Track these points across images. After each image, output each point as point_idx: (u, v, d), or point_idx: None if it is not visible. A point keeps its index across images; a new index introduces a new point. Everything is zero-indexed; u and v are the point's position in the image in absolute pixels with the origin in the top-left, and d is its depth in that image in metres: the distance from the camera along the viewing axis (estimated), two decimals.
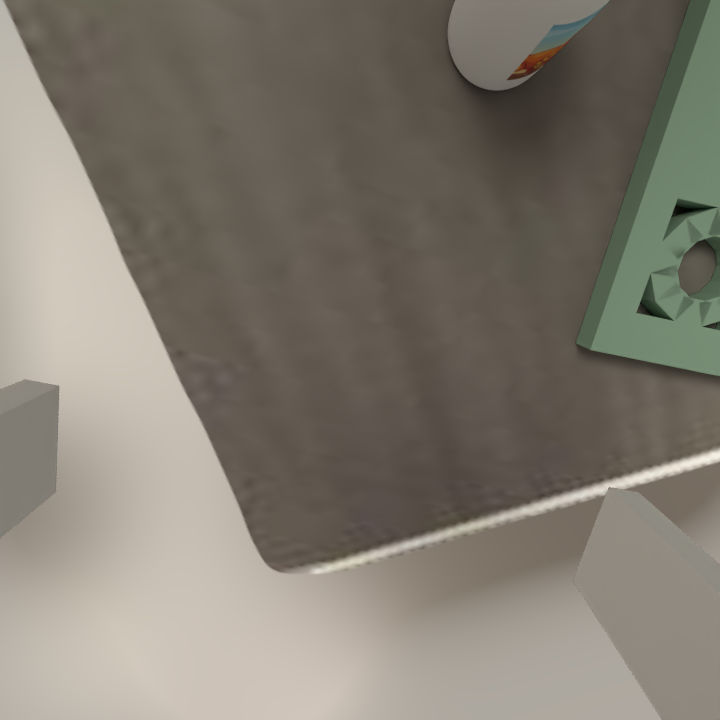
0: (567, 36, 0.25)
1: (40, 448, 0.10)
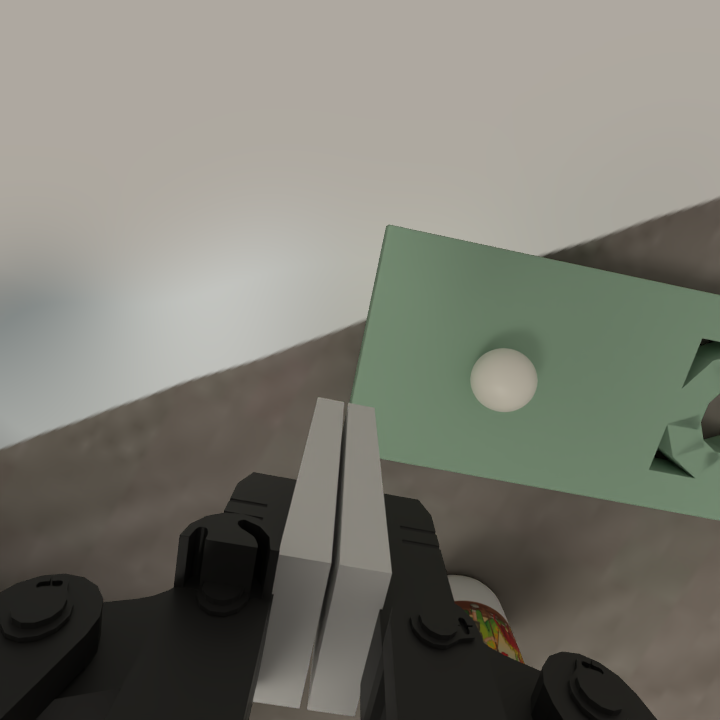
0: None
1: None
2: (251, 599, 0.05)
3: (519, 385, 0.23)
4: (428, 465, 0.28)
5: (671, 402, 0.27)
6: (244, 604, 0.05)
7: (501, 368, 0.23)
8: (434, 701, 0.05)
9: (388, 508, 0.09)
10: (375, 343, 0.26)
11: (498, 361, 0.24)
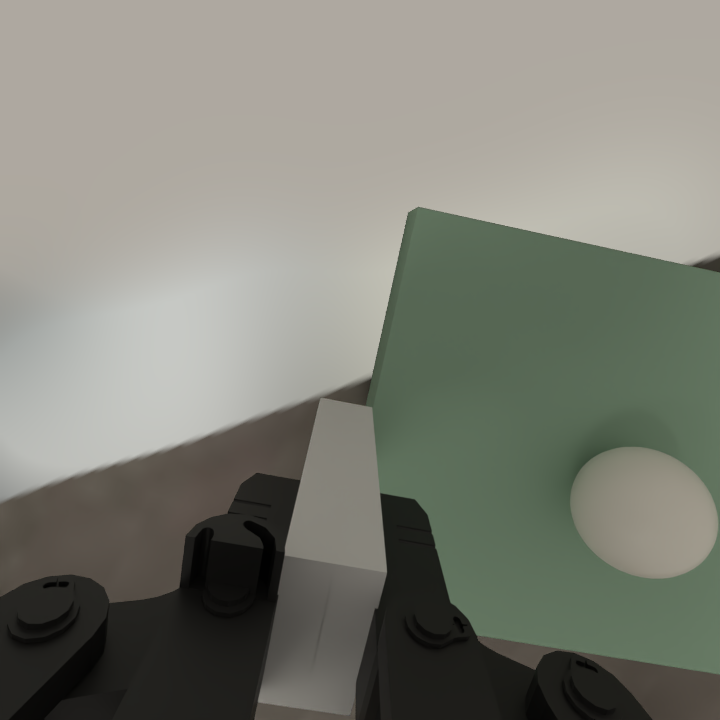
0: None
1: None
2: (256, 600, 0.05)
3: (694, 541, 0.11)
4: (480, 633, 0.16)
5: None
6: (249, 605, 0.05)
7: (653, 503, 0.11)
8: (428, 700, 0.05)
9: (385, 507, 0.09)
10: (388, 429, 0.14)
11: (644, 485, 0.12)
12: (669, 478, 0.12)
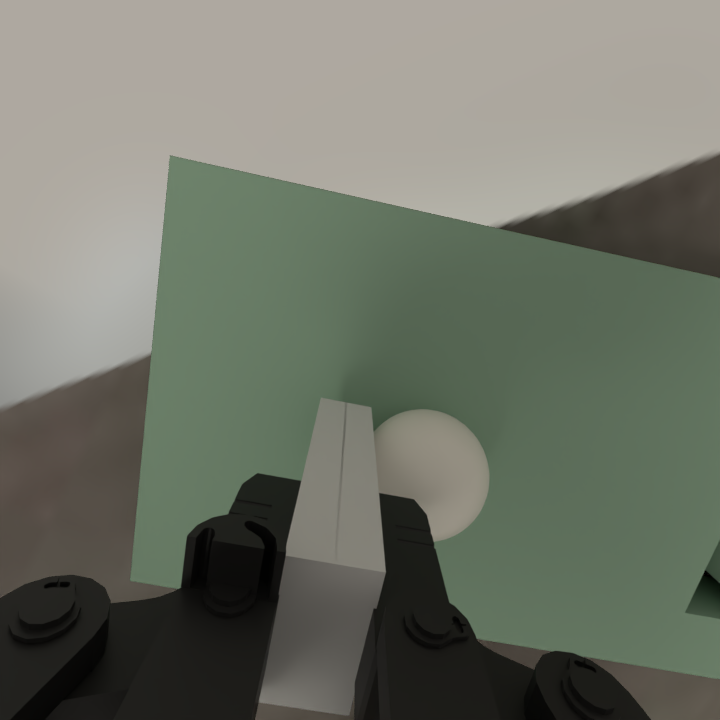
0: None
1: None
2: (257, 600, 0.05)
3: (462, 499, 0.11)
4: None
5: None
6: (250, 605, 0.05)
7: (424, 466, 0.11)
8: (427, 700, 0.05)
9: (384, 507, 0.09)
10: (169, 390, 0.14)
11: (416, 449, 0.11)
12: (441, 438, 0.11)
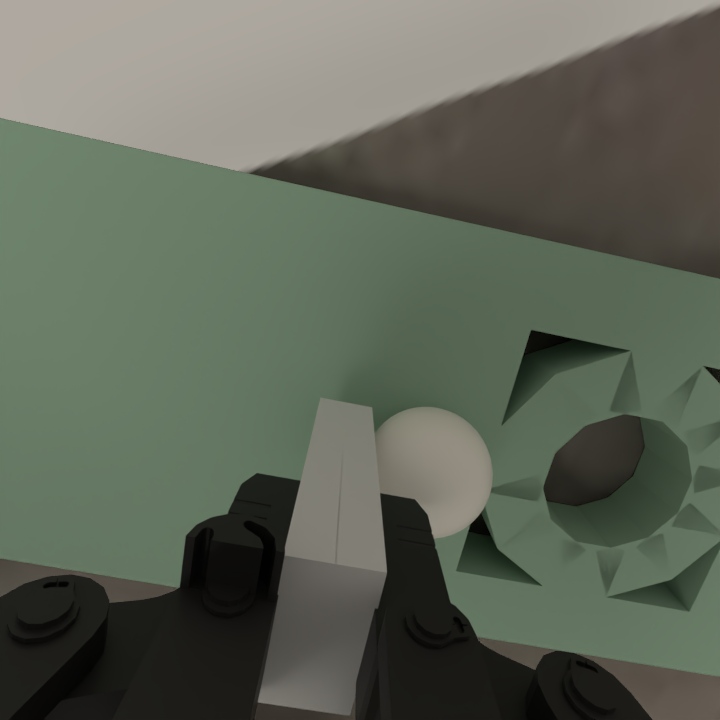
0: None
1: None
2: (257, 600, 0.05)
3: None
4: (47, 563, 0.15)
5: None
6: (250, 605, 0.05)
7: None
8: (428, 700, 0.05)
9: (385, 507, 0.09)
10: None
11: None
12: (406, 411, 0.12)
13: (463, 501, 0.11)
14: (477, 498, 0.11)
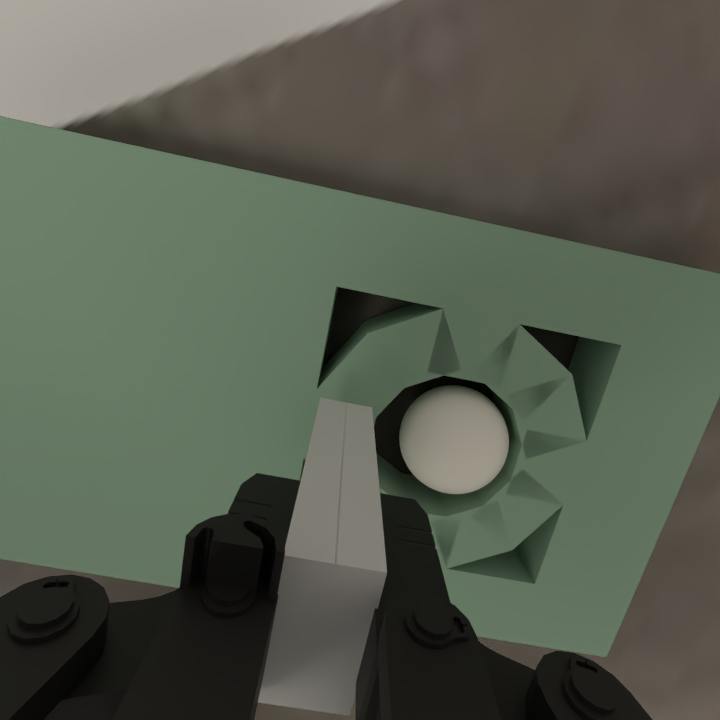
0: None
1: None
2: (256, 600, 0.05)
3: None
4: None
5: (302, 415, 0.14)
6: (249, 605, 0.05)
7: None
8: (428, 700, 0.05)
9: (385, 507, 0.09)
10: None
11: None
12: None
13: (410, 433, 0.14)
14: (420, 440, 0.14)
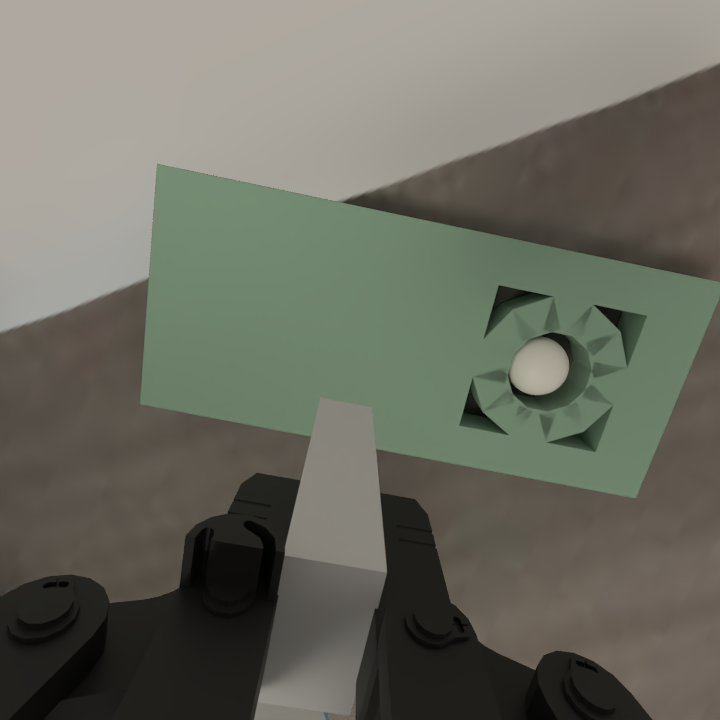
0: None
1: None
2: (257, 600, 0.05)
3: None
4: (230, 419, 0.28)
5: (474, 354, 0.26)
6: (250, 605, 0.05)
7: None
8: (428, 700, 0.05)
9: (385, 507, 0.09)
10: (159, 290, 0.26)
11: None
12: None
13: None
14: None
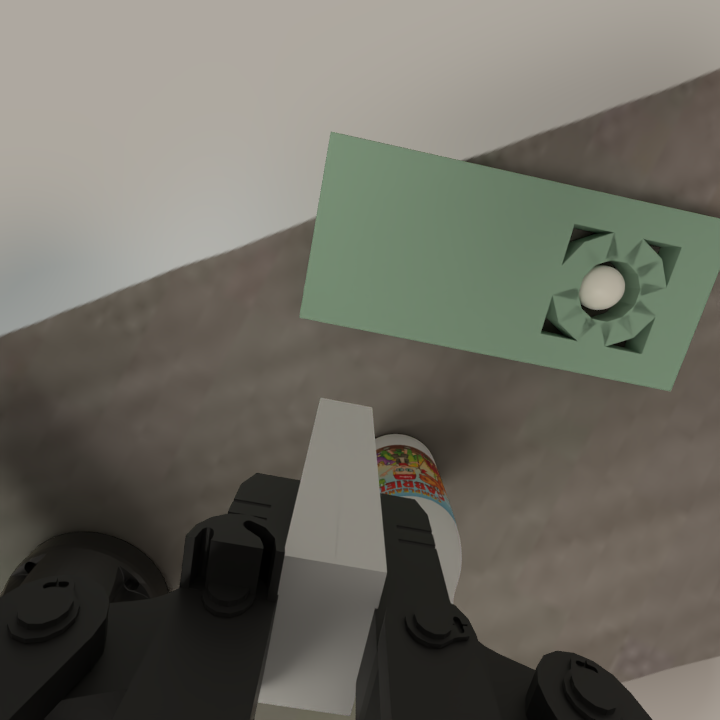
0: None
1: None
2: (257, 600, 0.05)
3: None
4: (367, 329, 0.36)
5: (554, 276, 0.35)
6: (250, 605, 0.05)
7: None
8: (428, 700, 0.05)
9: (385, 507, 0.09)
10: (322, 227, 0.34)
11: None
12: None
13: None
14: (582, 281, 0.36)
